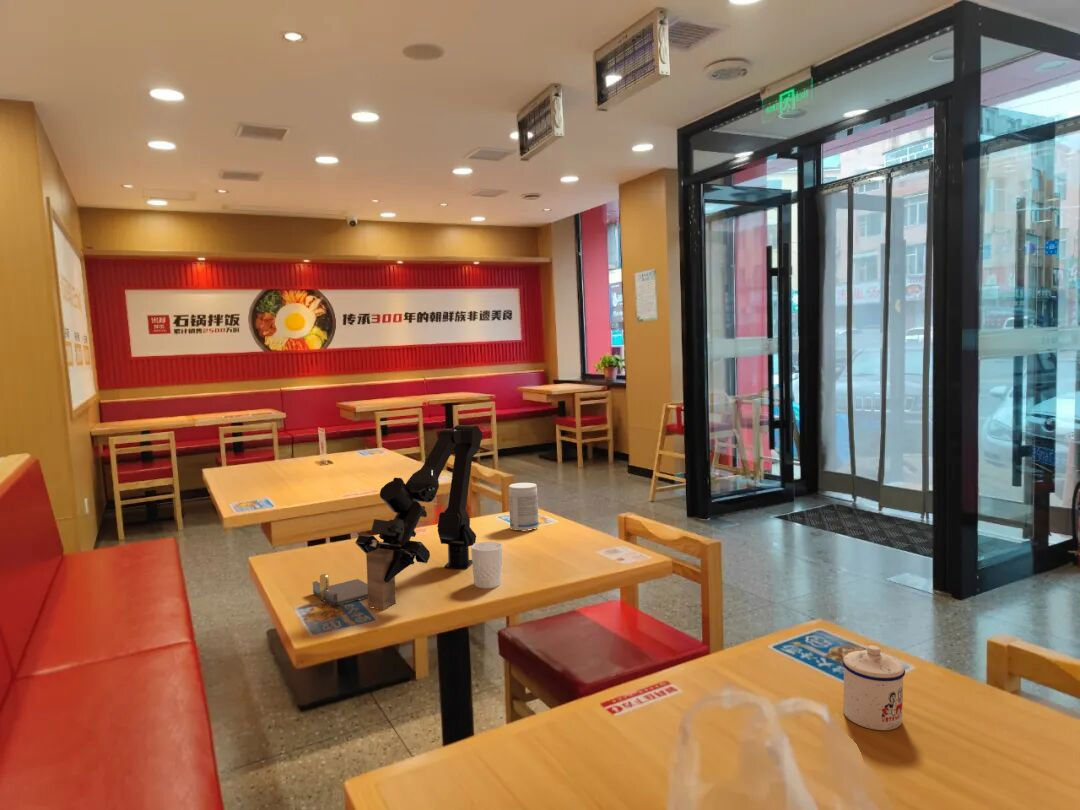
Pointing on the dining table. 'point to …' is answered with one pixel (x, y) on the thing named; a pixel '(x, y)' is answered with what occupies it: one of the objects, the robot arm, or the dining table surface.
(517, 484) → the supplement tub
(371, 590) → the walnut post
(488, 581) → the white cup
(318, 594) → the keeper plate
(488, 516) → the dining table surface
